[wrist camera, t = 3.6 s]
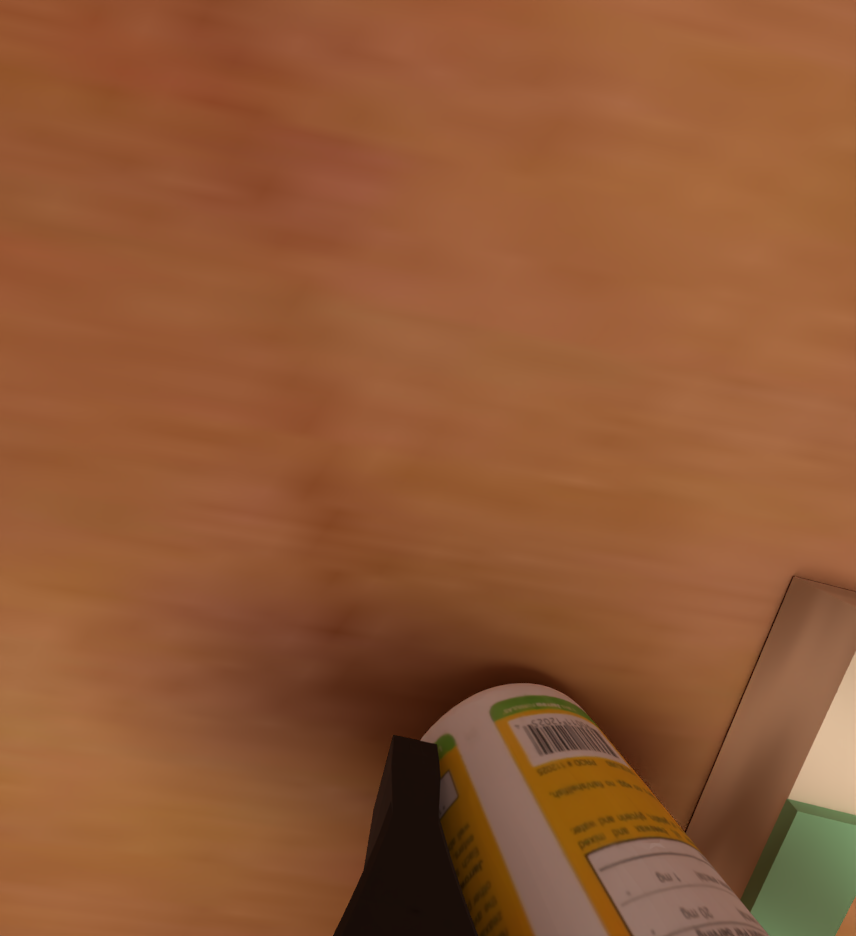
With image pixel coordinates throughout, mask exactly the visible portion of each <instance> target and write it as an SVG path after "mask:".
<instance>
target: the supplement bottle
mask: <svg viewBox="0 0 856 936" xmlns="http://www.w3.org/2000/svg"><path fill="white" fill-rule="evenodd" d="M420 741H424V742H429V743H434V744H437V748H438V755H439V764H440V775H441V779H440V801H439V818H440V821H441V825H442V828H443V832H444V835H445V838H446V842H447V845H448V849H449V852H450V855H451V859H452V862H453V865H454V868H455V871H456V874H457V877H458V881H459V883H460V886H461V889H462V892H463V895H464V898H465V901H466V904H467V907H468V909H469V912H470V915H471V918H472V920H473V923H474V926H475V929H476V931H477V934H478V936H769V935H768V933H767V932H766V931H765V930H764V929H763V927H762V926H761V925H760V924H759V923H758V921H757V920H756V919H755V918H754V916H753V915H752V914H751V913H750V912H749V910H748V909H747V908H746V907H745V905H744V904H743V903H742V902H741V901H740V899H739V898H738V897H737V896H736V894H735V893H734V892H733V891H732V890H731V888H730V887H729V886H728V885H727V884H726V882H725V881H724V880H723V879H722V877H721V876H720V875H719V874H718V872H717V871H716V870H715V869H714V868H713V866H712V865H711V864H710V863H709V861H708V860H707V859H706V858H705V856H704V855H703V854H702V853H701V852H700V850H699V849H698V848H697V847H696V846H695V844H694V843H693V842H692V841H691V839H690V838H689V837H688V836H687V835H686V833H685V832H684V831H683V830H682V828H681V827H680V826H679V825H678V824H677V822H676V821H675V820H674V819H673V817H672V816H671V815H670V814H669V812H668V811H667V810H666V809H665V808H664V806H663V805H662V804H661V803H660V802H659V800H658V799H657V798H656V797H655V795H654V794H653V793H652V792H651V791H650V789H649V788H648V787H647V786H646V784H645V783H644V782H643V781H642V780H641V778H640V777H639V776H638V775H637V773H636V772H635V771H634V770H633V769H632V767H631V766H630V765H629V764H628V763H627V761H626V760H625V759H624V758H623V756H622V755H621V754H620V753H619V752H618V750H617V749H616V748H615V747H614V745H613V744H612V743H611V742H610V741H609V739H608V738H607V737H606V736H605V734H604V733H603V732H602V731H601V729H600V728H599V727H598V726H597V725H596V724H595V722H594V721H593V720H592V719H591V718H590V717H589V716H588V715H587V714H586V712H585V711H584V710H583V709H582V708H581V707H580V706H579V705H578V704H577V703H576V702H575V701H573V700H572V699H571V698H569V697H568V696H567V695H565V694H563V693H561V692H559V691H557V690H555V689H552V688H550V687H547V686H543V685H538V684H531V683H514V684H506V685H501V686H496V687H493V688H489V689H486V690H483V691H481V692H479V693H477V694H474V695H472V696H471V697H469V698H467V699H465V700H464V701H462V702H460V703H459V704H457V705H456V706H454V707H453V708H452V709H451V710H449V711H448V712H447V713H446V714H444V715H443V716H442V717H441V718H440V719H439V720H438V721H437V722H436V723H435V724H434V725H433V726H432V727H431V728H430V729H429V730H428V731H427V732H426V733H425V735H424V736H423V737H422V739H421V740H420Z"/></svg>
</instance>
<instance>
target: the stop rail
mask: <svg viewBox="0 0 856 936" xmlns="http://www.w3.org/2000/svg"><path fill="white" fill-rule="evenodd" d="M686 835H687V836H688V837H689V838H690V839H691V841H692V842H693V843H694V844H695V846H696V847H697V848H698V849H699V850H700V852H701V853H702V854H703V855H704V856H705V858H706V859H707V860H708V861H709V863H710V864H711V865H712V866H713V868H714V869H715V870H716V871H717V872H718V874H719V875H720V876H721V877H722V879H723V880H724V881H725V882H726V884H727V885H728V886H729V887H730V888H731V890H732V891H733V892H734V893H735V894H736V896H737V897H738V898H739V899H740V901H741V902H742V903H743V904H744V905H745V907H746V908H747V909H748V910H749V912H750V913H751V914H752V915H753V916H754V918H755V919H756V920H757V921H758V923H759V924H760V925H761V926H762V927H763V929H764V930H765V931H766V932H767V933H768V935H769V936H835V935H836V933H837V931H838V929H839V927H840V925H841V923H842V921H843V919H844V918H845V916H846V914H847V912H848V910H849V908H850V906H851V904H852V902H853V900H854V898H855V896H856V592H854V591H850V590H846V589H842V588H838V587H834V586H830V585H827V584H823V583H819V582H815V581H811V580H807V579H803V578H799V577H795V576H794V577H793V579H792V582H791V584H790V586H789V589H788V591H787V593H786V596H785V598H784V601H783V603H782V605H781V608H780V610H779V612H778V615H777V617H776V620H775V622H774V624H773V627H772V629H771V631H770V634H769V636H768V639H767V641H766V643H765V646H764V648H763V651H762V653H761V655H760V658H759V660H758V662H757V665H756V667H755V670H754V672H753V674H752V677H751V679H750V681H749V684H748V686H747V689H746V691H745V693H744V696H743V698H742V700H741V703H740V705H739V708H738V710H737V712H736V715H735V717H734V719H733V722H732V724H731V727H730V729H729V731H728V734H727V736H726V738H725V741H724V743H723V746H722V748H721V750H720V753H719V755H718V757H717V760H716V762H715V765H714V767H713V769H712V772H711V774H710V777H709V779H708V781H707V784H706V786H705V788H704V791H703V793H702V796H701V798H700V800H699V803H698V805H697V807H696V810H695V812H694V815H693V817H692V819H691V822H690V824H689V826H688V829H687V831H686Z"/></svg>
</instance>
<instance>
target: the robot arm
mask: <svg viewBox="0 0 856 936" xmlns="http://www.w3.org/2000/svg"><path fill="white" fill-rule="evenodd" d="M440 779H441V775H440V764H439V755H438V748H437V744H434V743H429V742H424V741H420V740H415V739H410V738H406V737H401V736H397V735H393V738H392V742H391V745H390V749H389V753H388V757H387V761H386V764H385V768H384V772H383V776H382V780H381V784H380V787H379V791H378V795H377V799H376V803H375V806H374V811H373V817H372V823H371V829H370V835H369V841H368V847H367V853H366V859H365V866H364V871H363V873H362V875H361V878H360V880H359V882H358V885H357V887H356V889H355V891H354V893H353V895H352V898H351V900H350V902H349V904H348V906H347V908H346V910H345V912H344V914H343V916H342V919H341V921H340V923H339V925H338V927H337V929H336V931H335V933H334V935H333V936H478V934H477V931H476V929H475V926H474V923H473V920H472V918H471V915H470V912H469V909H468V907H467V904H466V901H465V898H464V895H463V892H462V889H461V886H460V883H459V881H458V877H457V874H456V871H455V868H454V865H453V862H452V859H451V855H450V852H449V849H448V845H447V842H446V838H445V835H444V832H443V828H442V825H441V821H440V818H439V801H440Z"/></svg>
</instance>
